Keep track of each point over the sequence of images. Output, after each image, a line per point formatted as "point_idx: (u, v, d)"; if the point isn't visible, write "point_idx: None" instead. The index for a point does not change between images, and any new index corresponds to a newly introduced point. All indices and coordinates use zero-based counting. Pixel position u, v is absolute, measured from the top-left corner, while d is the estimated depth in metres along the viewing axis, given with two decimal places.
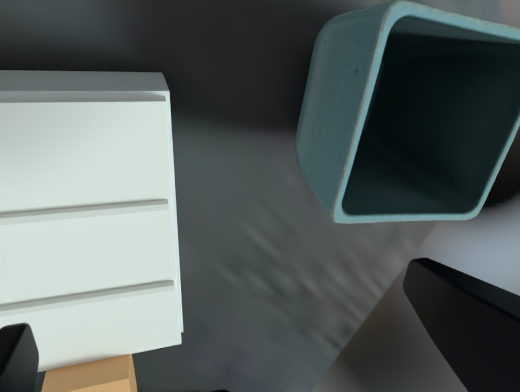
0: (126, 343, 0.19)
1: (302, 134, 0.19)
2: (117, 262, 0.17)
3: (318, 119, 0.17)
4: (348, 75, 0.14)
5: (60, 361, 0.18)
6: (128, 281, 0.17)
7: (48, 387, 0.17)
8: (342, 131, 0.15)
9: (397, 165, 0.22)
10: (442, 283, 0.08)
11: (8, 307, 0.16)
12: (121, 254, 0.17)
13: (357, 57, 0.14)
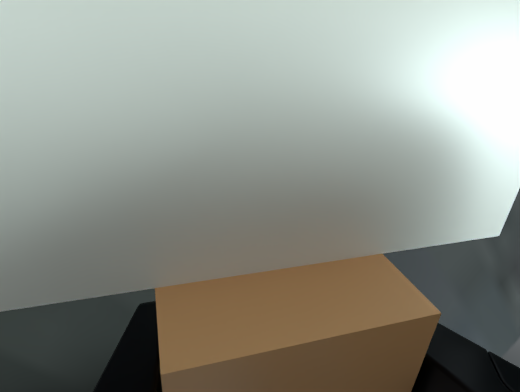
0: (390, 214, 0.06)
1: None
2: None
3: None
4: None
5: (202, 257, 0.05)
6: None
7: (181, 338, 0.05)
8: None
9: None
10: None
11: None
12: None
13: None
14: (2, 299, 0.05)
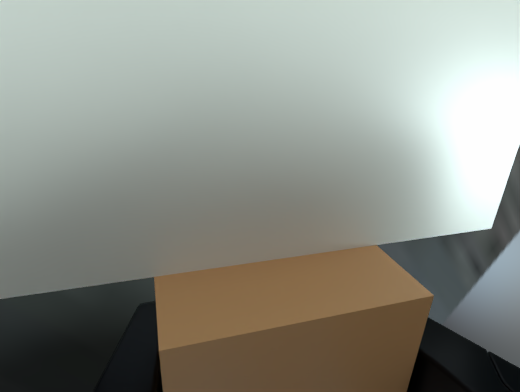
0: (381, 204, 0.06)
1: None
2: None
3: None
4: None
5: (200, 245, 0.06)
6: None
7: (179, 319, 0.05)
8: None
9: None
10: None
11: None
12: None
13: None
14: (6, 286, 0.05)
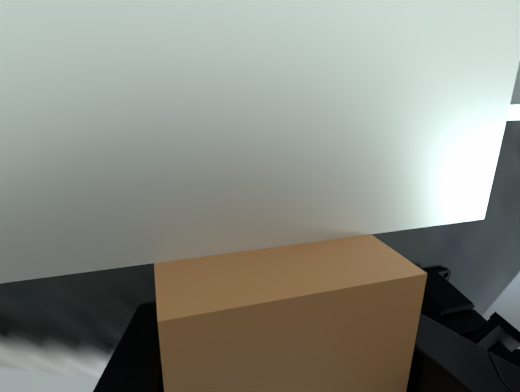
0: (373, 192, 0.07)
1: None
2: None
3: None
4: None
5: (198, 231, 0.06)
6: None
7: (177, 296, 0.05)
8: None
9: None
10: None
11: None
12: None
13: None
14: (10, 269, 0.05)
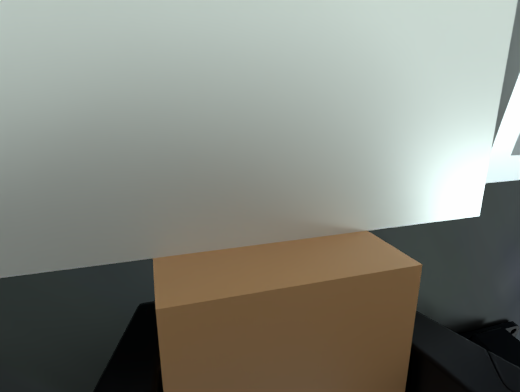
0: (368, 189, 0.07)
1: None
2: None
3: None
4: None
5: (196, 227, 0.06)
6: None
7: (175, 287, 0.05)
8: None
9: None
10: None
11: None
12: None
13: None
14: (12, 263, 0.05)
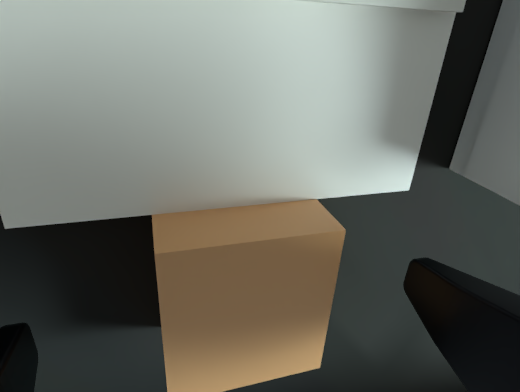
0: (319, 168, 0.09)
1: None
2: None
3: None
4: None
5: (184, 193, 0.08)
6: None
7: (168, 238, 0.07)
8: None
9: None
10: (443, 283, 0.08)
11: None
12: None
13: None
14: (51, 215, 0.07)
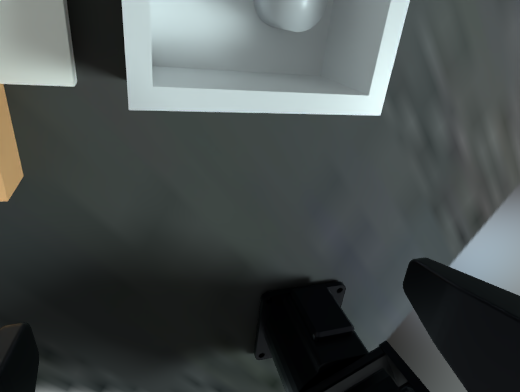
0: None
1: None
2: None
3: None
4: None
5: None
6: None
7: None
8: None
9: None
10: (442, 283, 0.08)
11: None
12: None
13: None
14: None
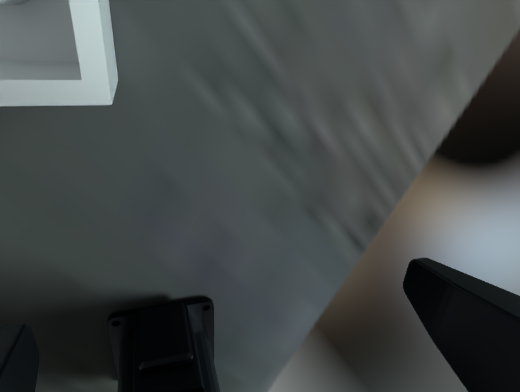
0: None
1: None
2: None
3: None
4: None
5: None
6: None
7: None
8: None
9: None
10: (442, 283, 0.08)
11: None
12: None
13: None
14: None
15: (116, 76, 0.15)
